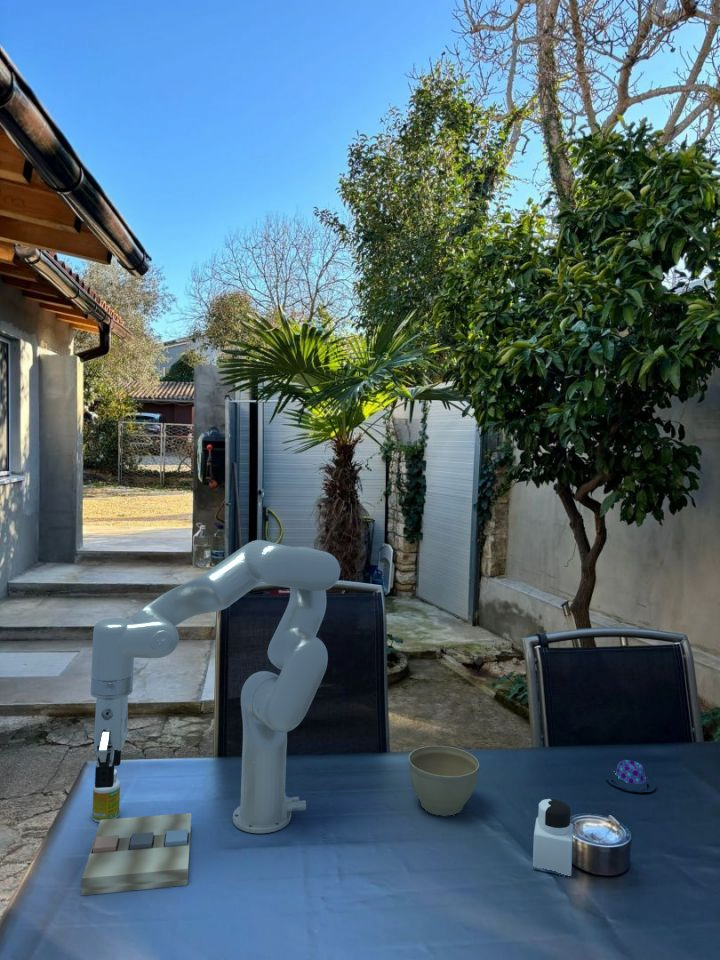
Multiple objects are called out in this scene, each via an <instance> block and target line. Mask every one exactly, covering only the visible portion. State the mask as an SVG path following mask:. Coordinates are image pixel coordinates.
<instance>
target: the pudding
mask: <svg viewBox="0 0 720 960" xmlns="http://www.w3.org/2000/svg"><path fill="white" fill-rule="evenodd" d="M615 771H616V773H615V775H616V776H618V779H620V780H623V781H625V782H626V783H630V784H632V783H635V784H642V783H645V782H646V777H647V776H646V773H645V768H644V765H643V764H641V763H639V762H638V761H634V760H631V759H630V760H629V759H624V760H621V761H619V762H618V764H617V766H616V770H615Z"/></svg>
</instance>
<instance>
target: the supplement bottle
mask: <svg viewBox="0 0 720 960" xmlns="http://www.w3.org/2000/svg"><path fill="white" fill-rule="evenodd" d="M117 777H118V770H117V769H115V768H114V784H113V787H107V788H95V783H94V784H93V788H92V789H93V790H92V813H91V815H92V816H91V817H92V821H94V822H96V823H99V824H100V821H101V820H105V819H118V817H119V815H120V802H121V801H120V799H121V797H120V796H121V782H120V780H119V779H118V778H117Z"/></svg>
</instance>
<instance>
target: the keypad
mask: <svg viewBox="0 0 720 960" xmlns="http://www.w3.org/2000/svg"><path fill="white" fill-rule="evenodd" d="M191 828H192V812H186V813H173V814H171V813H170V814H159V815H145V816H134V817H132V816H131V817H120V818H118V817H117V818H116V819H105V820H101V821H100V823H99V824H98V827H97V831H96V833H95V836H94V839H93V843H92V846H91V850H90V852H89V855H88V858H87V861H86V865H85V867H84V871H83V875H82V876H81V877H82V878H81V890H80V891H81V892H80V893H81V896H91V895H100V894H110V893H111V894H112V893H113V894H114V893H121V892H130V891H131V892H132V891H139V890H140V891H141V890H142V891H143V890H149V889H150V890H151V889H152V890H153V889H162V888H163V889H164V888H170V887H171V888H172V887H180V886H181V887H183V886H188V885H189V884H188V881H189V866H190V864H189V863H190V851H191V850H190V848H191ZM186 829H188V835H187V845H185V846H173V847H165V841H166V833H167V831H174V830H186ZM149 832H154V835H153V845H152V848H150V849H138V850H130V842H131V837H132V834H137V833H149ZM112 835H119V841H118V846H117V850H116V851H115V852H103V853H93V847H94V844H95V841H96V838H97V837H100V836H112Z"/></svg>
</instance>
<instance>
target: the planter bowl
mask: <svg viewBox="0 0 720 960" xmlns="http://www.w3.org/2000/svg"><path fill="white" fill-rule="evenodd" d="M407 759H408V765H409V766H408V767H409V768H408V769H409V777H410V778H409V779H410V782H411V786H412V787H413V791H414V792H415V794H416V796H417V797H418V800H419V801H420V806H421V807H422V809H423V808H424V809H425V810H424V809H423V810H424V811H425V812H427V811H428V812H427V813H429V812H430V813H429V814H431V813H433V814H432V815H434V814H436V815H435V816H438V815H451V814H455V813H458V812H460V811H461V810H462V811H463V809H464V806H465V804H466V803H467V802H468V801H469V800H470V798H471V796H472V795H473V792H474V790H475V787H476V784H477V781H478V772H479V769H480V762H479V760H478V759H477V757H475V756H474V755H473V754H472V753H470V752H468V751H466V750H463V749H461V748H457V747H452V746H445V745H427V746H422V747H419V748H415V749H414V750H412V751H411V752H410V753H409V754H408V758H407ZM462 808H463V809H462ZM462 811H461V812H462ZM461 812H460V813H461Z"/></svg>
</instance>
